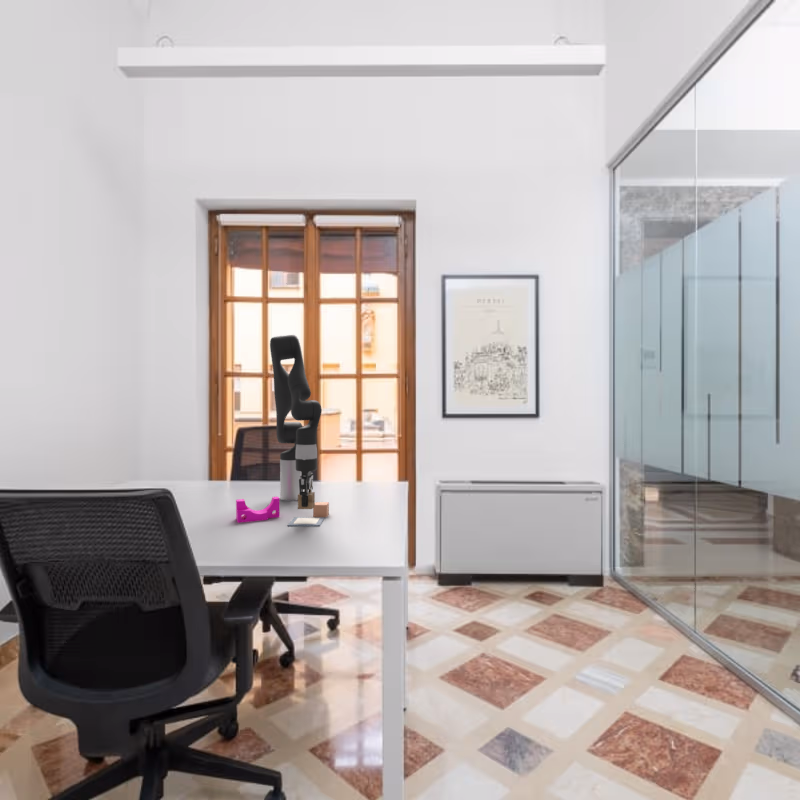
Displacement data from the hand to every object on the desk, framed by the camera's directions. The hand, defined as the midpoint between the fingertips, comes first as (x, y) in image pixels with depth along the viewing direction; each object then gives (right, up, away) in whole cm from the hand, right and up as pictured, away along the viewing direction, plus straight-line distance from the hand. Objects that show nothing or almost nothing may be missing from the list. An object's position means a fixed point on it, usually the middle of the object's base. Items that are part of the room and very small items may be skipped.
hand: (306, 504), depth 188 cm
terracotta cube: (+4, -7, +10) cm, 13 cm away
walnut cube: (0, -1, 0) cm, 1 cm away
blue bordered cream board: (0, -7, 0) cm, 7 cm away
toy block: (-18, -7, +6) cm, 21 cm away
